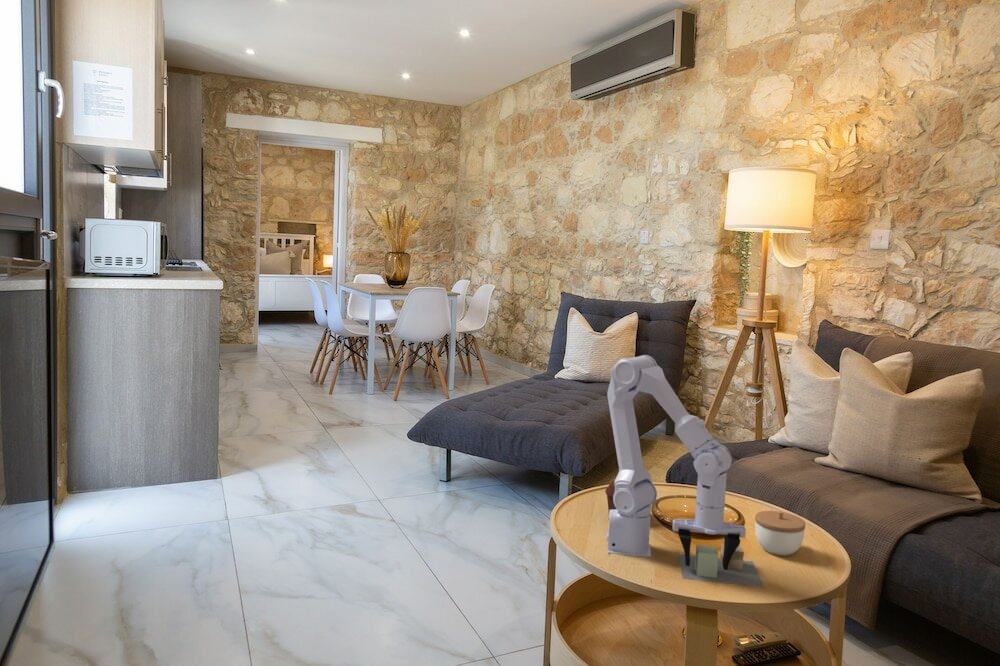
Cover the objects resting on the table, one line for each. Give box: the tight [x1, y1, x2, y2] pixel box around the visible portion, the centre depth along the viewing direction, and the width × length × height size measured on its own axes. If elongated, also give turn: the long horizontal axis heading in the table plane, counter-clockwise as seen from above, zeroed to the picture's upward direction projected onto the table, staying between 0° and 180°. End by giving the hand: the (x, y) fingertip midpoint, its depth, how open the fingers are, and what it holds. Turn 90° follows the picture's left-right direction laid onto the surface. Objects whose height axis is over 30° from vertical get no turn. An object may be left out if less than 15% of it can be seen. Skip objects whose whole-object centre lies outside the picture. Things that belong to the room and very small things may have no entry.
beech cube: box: [719, 542, 745, 570], centre depth 150 cm, size 4×4×4 cm
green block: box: [695, 544, 719, 578], centre depth 146 cm, size 4×4×5 cm
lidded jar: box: [754, 510, 806, 557], centre depth 159 cm, size 11×11×9 cm
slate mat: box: [677, 553, 765, 588], centre depth 148 cm, size 16×12×1 cm
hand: (706, 565), depth 146 cm, fingers open, 7 cm apart
